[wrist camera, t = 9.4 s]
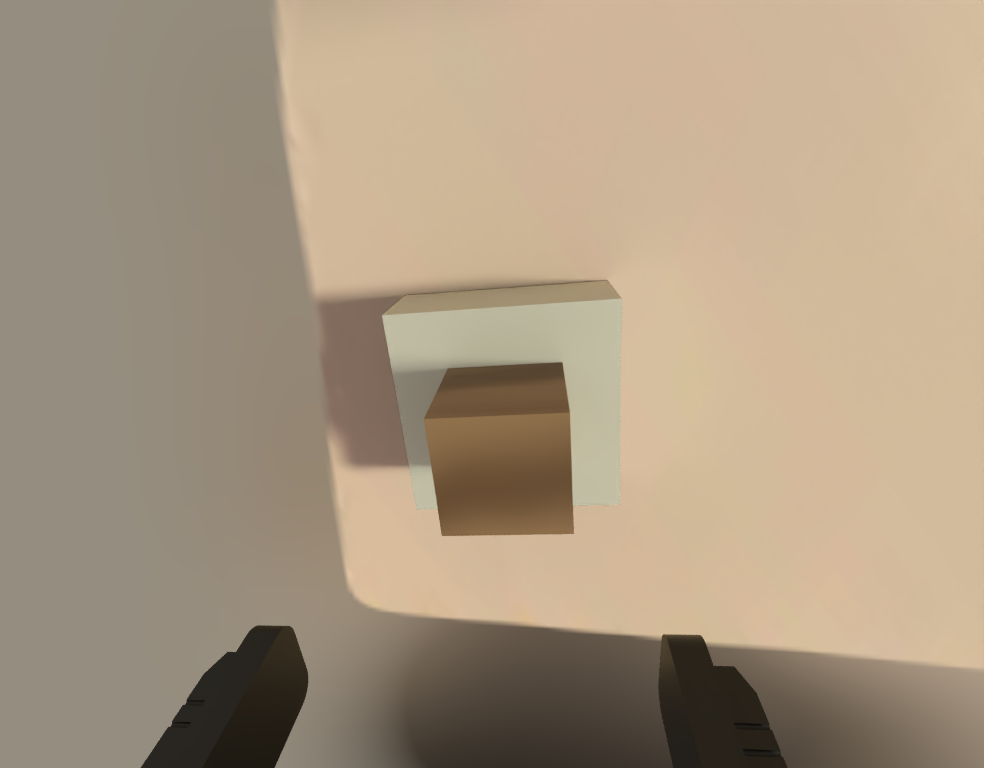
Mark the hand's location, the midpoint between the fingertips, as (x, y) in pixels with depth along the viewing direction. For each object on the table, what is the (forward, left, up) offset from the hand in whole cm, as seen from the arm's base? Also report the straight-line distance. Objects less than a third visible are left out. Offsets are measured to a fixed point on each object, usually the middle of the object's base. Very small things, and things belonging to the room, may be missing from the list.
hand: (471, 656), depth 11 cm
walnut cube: (0, 0, -12) cm, 12 cm away
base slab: (0, 0, -16) cm, 16 cm away
